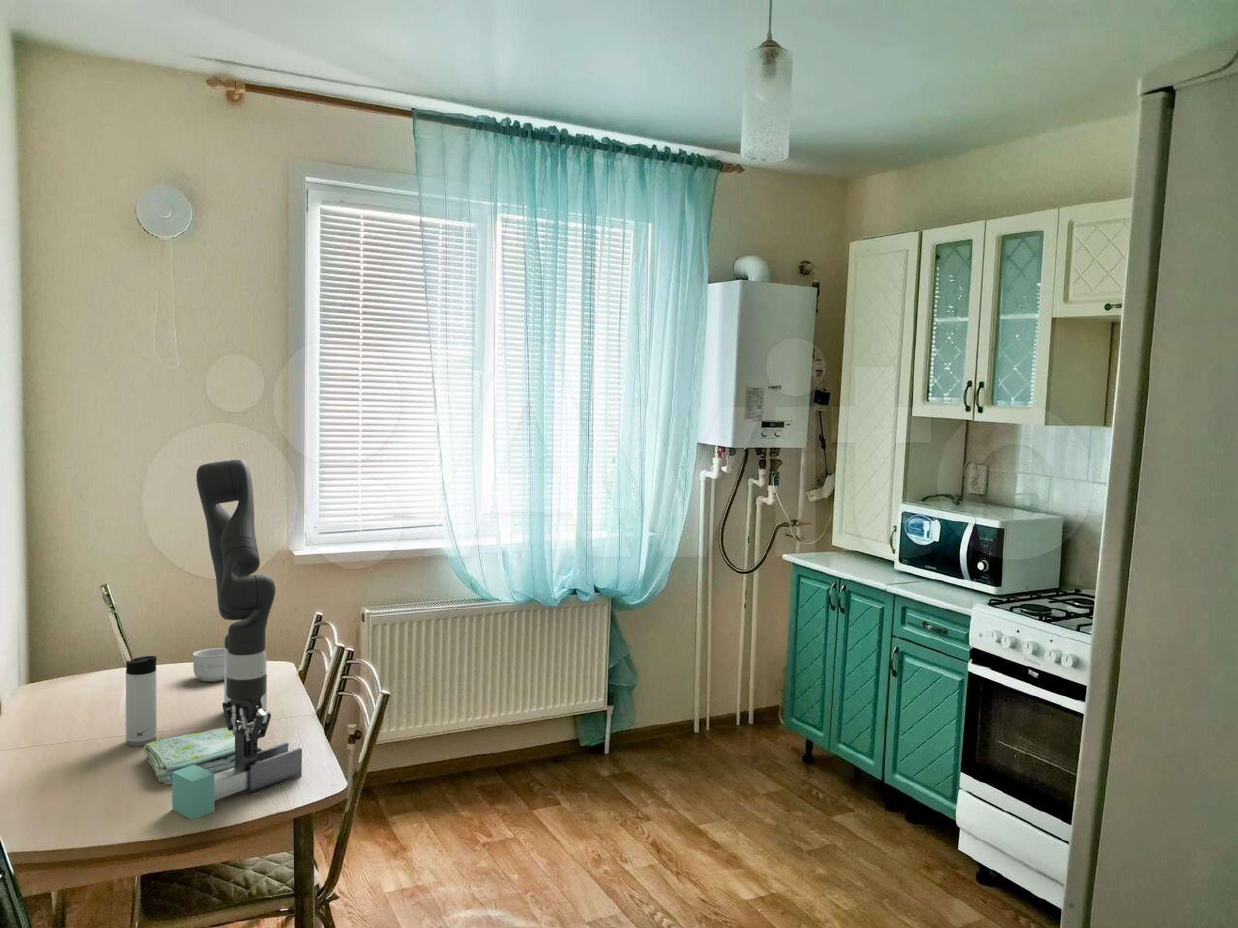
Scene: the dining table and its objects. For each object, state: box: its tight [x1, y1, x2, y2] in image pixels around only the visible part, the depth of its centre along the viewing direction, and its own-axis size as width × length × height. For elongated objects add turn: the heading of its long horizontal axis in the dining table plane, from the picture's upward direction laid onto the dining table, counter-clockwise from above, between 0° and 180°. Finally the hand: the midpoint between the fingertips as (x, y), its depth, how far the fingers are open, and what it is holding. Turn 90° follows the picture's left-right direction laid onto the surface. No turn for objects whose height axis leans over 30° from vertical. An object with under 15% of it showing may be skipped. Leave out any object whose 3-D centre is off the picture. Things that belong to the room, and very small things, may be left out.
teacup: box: [192, 647, 225, 682], centre depth 254 cm, size 14×11×8 cm
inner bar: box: [214, 728, 259, 801], centre depth 181 cm, size 14×4×11 cm, turn 146°
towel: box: [143, 727, 263, 785], centre depth 198 cm, size 18×21×5 cm
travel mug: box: [125, 655, 157, 747], centre depth 207 cm, size 6×7×20 cm
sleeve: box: [240, 742, 303, 796], centre depth 188 cm, size 12×5×6 cm, turn 146°
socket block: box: [171, 765, 215, 820], centre depth 174 cm, size 4×7×8 cm, turn 56°
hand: (245, 754), depth 184 cm, fingers closed on inner bar, 3 cm apart
